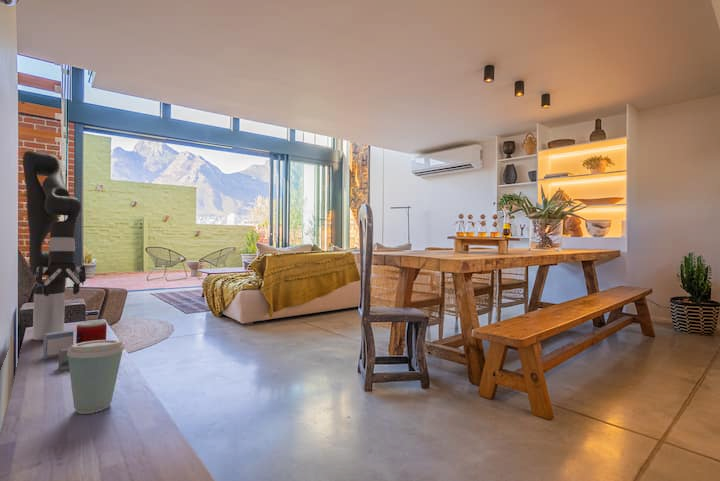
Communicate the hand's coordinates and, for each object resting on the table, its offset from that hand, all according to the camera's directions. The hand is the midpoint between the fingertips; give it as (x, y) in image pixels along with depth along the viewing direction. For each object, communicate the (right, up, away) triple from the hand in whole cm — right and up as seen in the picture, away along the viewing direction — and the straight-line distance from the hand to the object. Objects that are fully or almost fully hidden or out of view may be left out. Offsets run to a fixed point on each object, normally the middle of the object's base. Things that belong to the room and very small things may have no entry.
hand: (61, 295), depth 135 cm
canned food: (+21, -18, -14) cm, 31 cm away
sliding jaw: (+8, -18, -12) cm, 23 cm away
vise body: (+23, -18, -23) cm, 37 cm away
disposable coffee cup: (+49, -18, -51) cm, 73 cm away
